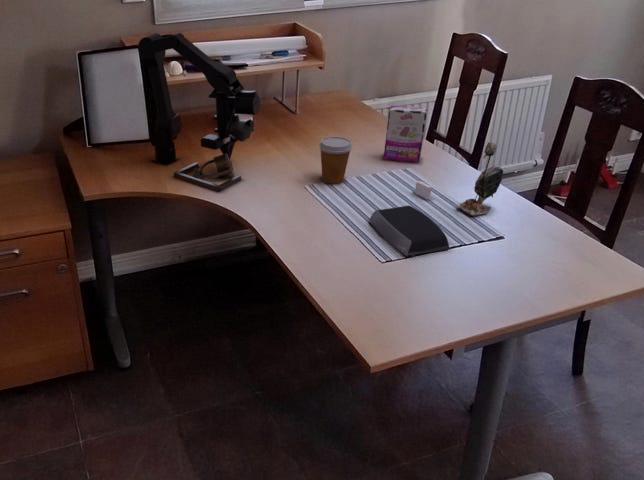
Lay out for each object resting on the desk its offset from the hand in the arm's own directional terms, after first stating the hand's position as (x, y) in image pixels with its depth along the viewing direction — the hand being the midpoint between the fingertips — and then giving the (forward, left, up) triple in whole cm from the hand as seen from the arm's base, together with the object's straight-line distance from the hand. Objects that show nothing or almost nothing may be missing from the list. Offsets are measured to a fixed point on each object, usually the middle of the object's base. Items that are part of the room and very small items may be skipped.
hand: (228, 160), depth 198 cm
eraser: (+56, +18, -3) cm, 59 cm away
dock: (-1, -10, -3) cm, 10 cm away
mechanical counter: (0, -7, -3) cm, 7 cm away
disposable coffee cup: (+30, +13, -3) cm, 33 cm away
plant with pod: (+71, +19, -3) cm, 74 cm away
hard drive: (+63, -6, -3) cm, 64 cm away
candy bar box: (+39, +40, -3) cm, 56 cm away
